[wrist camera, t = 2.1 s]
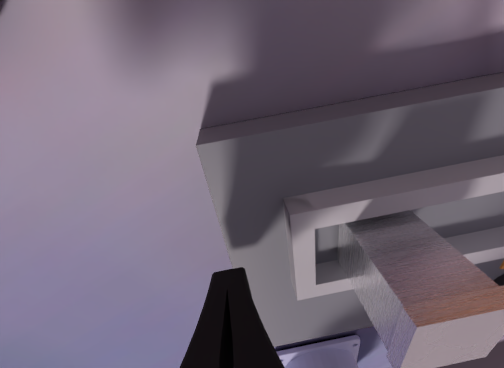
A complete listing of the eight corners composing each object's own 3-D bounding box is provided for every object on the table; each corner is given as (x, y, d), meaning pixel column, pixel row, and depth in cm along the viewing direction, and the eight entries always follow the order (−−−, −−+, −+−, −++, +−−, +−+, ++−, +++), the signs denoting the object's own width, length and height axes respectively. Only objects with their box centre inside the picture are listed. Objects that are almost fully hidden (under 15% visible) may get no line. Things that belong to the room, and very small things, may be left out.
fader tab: (393, 249, 12) (486, 356, 8) (335, 261, 12) (397, 376, 8) (404, 201, 11) (529, 303, 6) (337, 214, 11) (417, 327, 6)
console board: (540, 263, 19) (613, 311, 15) (253, 322, 18) (261, 386, 15) (710, 33, 11) (950, 25, 7) (200, 129, 10) (189, 171, 7)
